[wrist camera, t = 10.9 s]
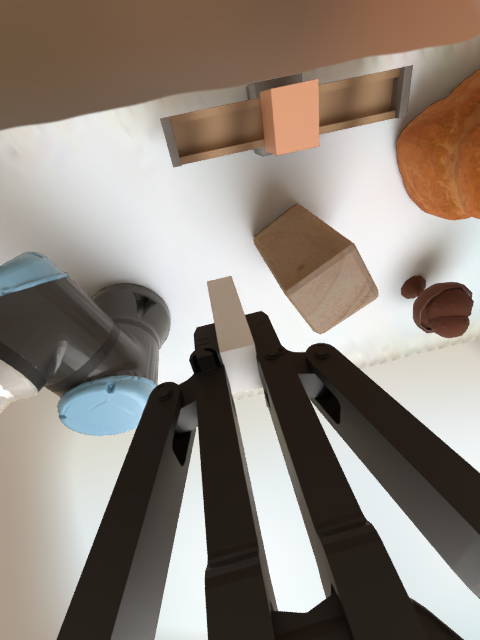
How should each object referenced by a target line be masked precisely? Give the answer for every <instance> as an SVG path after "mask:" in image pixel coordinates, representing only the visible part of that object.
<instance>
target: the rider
mask: <svg viewBox="0 0 480 640" xmlns="http://www.w3.org/2000/svg"><path fill="white" fill-rule="evenodd" d="M260 101H261V111H262V120H263V130H264V139H265V149H266V152H269V153H271V154H274V155H276V156H277V155H281V154H286V153H290V152H295V151H300V150H304V149H309V148H313V147H318V146H319V80H318V79H316V80H311V81H306V82H302V83H297V84H292V85H287V86H283V87H278V88H273V89H269V90H265V91H262V92H260Z"/></svg>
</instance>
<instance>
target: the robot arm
mask: <svg viewBox="0 0 480 640" xmlns="http://www.w3.org/2000/svg"><path fill="white" fill-rule="evenodd" d="M207 285H208V291H209V296H210V302H211V307H212V312H213V318H214V323H213V324H209V325H205V326H201V327H197V329H196V331H195V333H194V344H195V351H194V352H193V353H192V354H191V356H190V359H189V361H190V364H191V366H192V369H193V372H194V374H193V376H192V377H191V378H189V379H188V380H187V381H185V382H183V383H181V384H179V385H178V384H176V383H174V382H165V383H162V384H160V385H158V386H157V380H158V361H159V349H160V348H161V346H162V344H163V343H164V342H165V340H166V339H167V337H168V334H169V331H170V321H171V319H170V312H169V309H168V307H167V305H166V304H165V302H164V301H163V300H162V298H161V297H159V296H158V295H157V294H156V293H154V292H153V291H151V290H149V289H147V288H145V287H142V286H139V285H134V284H116V285H112V286H109V287H106V288H104V289H102V290H100V291H99V292H98V293H96V294H95V295H94V296H93V298H92V299H91V298H90V297H89V296H88V295H87V294H86V293H85V292H84V291H83V290H82V289H81V288H80V287H79V286H78V285H77V284H76V283H75V282H74V281H73V280H72V279H71V278H70V277H69V275H68V274H67V273H64V272H63V271H62V270H60V269H59V268H58V267H57V266H56V265H55V264H54V263H52V262H51V261H50V260H49V259H48V258H47V257H46V256H44V255H42V254H40V253H37V252H26V253H23V254H21V255H19V256H17V257H15V258H14V259H12V260H10V261H8V262H6V263H4V264H3V265H1V266H0V413H1V412H2V411H3V410H4V409H5V408H6V407H7V406H8V404H9V403H11V402H14V401H17V400H22V399H26V398H31V397H34V396H35V395H36V394H37V393H38V392H39V391H40V390H41V389H42V387H43V386H45V387H46V388H48V389H49V390H51V391H52V392H54V393H55V394H57V395H58V396H59V397H60V398H61V399H60V400H59V402H58V406H57V407H58V413H59V418H60V420H61V422H62V423H63V424H64V425H65V426H67V427H68V428H69V429H71V430H73V431H76V432H78V433H82V434H86V435H93V436H103V435H115V434H120V433H124V432H127V431H130V430H132V429H134V428H136V427H137V429H136V432H135V434H134V437H133V440H132V442H131V445H130V447H129V450H128V453H127V455H126V458H125V461H124V463H123V466H122V468H121V471H120V474H119V476H118V479H117V482H116V484H115V487H114V490H113V492H112V495H111V497H110V500H109V503H108V505H107V508H106V511H105V513H104V516H103V519H102V521H101V524H100V527H99V529H98V532H97V534H96V537H95V540H94V542H93V546H92V548H91V550H90V553H89V555H88V558H87V561H86V564H85V566H84V569H83V571H82V574H81V577H80V579H79V582H78V585H77V587H76V590H75V592H74V595H73V598H72V600H71V603H70V606H69V608H68V611H67V613H66V616H65V619H64V621H63V624H62V627H61V629H60V632H59V634H58V638H57V640H154V638H155V633H156V628H157V623H158V618H159V613H160V608H161V603H162V598H163V593H164V588H165V583H166V578H167V573H168V567H169V563H170V558H171V553H172V548H173V543H174V537H175V532H176V528H177V522H178V518H179V513H180V507H181V503H182V498H183V492H184V488H185V483H186V478H187V472H188V467H189V462H190V457H191V452H192V446H193V442H194V437H195V432H196V427H198V430H199V445H200V459H201V472H202V485H203V497H204V498H203V499H204V513H205V527H206V540H207V554H208V564H207V568H206V571H205V596H206V612H207V628H208V640H464V639H462V638H461V637H460V636H459V635H458V634H456V633H455V632H454V631H453V630H451V629H450V628H449V627H448V626H447V625H446V624H444V623H443V622H442V621H441V620H440V619H438V618H437V617H436V616H435V615H434V614H433V613H431V612H430V611H429V610H427V609H426V608H425V607H424V606H422V605H421V604H419V603H418V602H416V601H415V600H413V599H411V598H409V596H408V594H407V592H406V590H405V588H404V586H403V584H402V582H401V580H400V578H399V576H398V574H397V571H396V569H395V567H394V565H393V563H392V561H391V559H390V557H389V555H388V553H387V551H386V548H385V546H384V544H383V542H382V540H381V538H380V536H379V535H378V533H377V531H376V529H375V528H374V526H373V525H372V524H371V523H370V522H369V521H367V520H366V518H365V517H364V515H363V513H362V511H361V509H360V507H359V505H358V502H357V500H356V498H355V496H354V494H353V492H352V489H351V487H350V485H349V483H348V481H347V479H346V477H345V475H344V472H343V470H342V468H341V466H340V464H339V462H338V460H337V457H336V455H335V453H334V451H333V449H332V447H331V444H330V442H329V440H328V438H327V436H326V434H325V432H324V429H323V427H322V425H321V423H320V421H319V419H318V416H317V415H316V412H315V410H314V408H313V406H312V404H311V401H312V403H313V404H314V405H315V406H316V407H317V408H318V410H319V411H320V412H321V413H322V414H323V416H324V417H325V418H326V419H327V420H328V422H329V423H330V424H331V425H332V426H333V428H334V429H335V430H336V431H337V432H338V434H339V435H340V436H341V437H342V438H343V440H344V441H345V442H346V443H347V444H348V446H349V447H350V448H351V449H352V450H353V452H354V453H355V454H356V455H357V456H358V458H359V459H360V460H361V461H362V462H363V463H364V465H365V466H366V467H367V468H368V469H369V471H370V472H371V473H372V474H373V475H374V477H375V478H376V479H377V480H378V481H379V483H380V484H381V485H382V486H383V487H384V489H385V490H386V491H387V492H388V493H389V495H390V496H391V497H392V498H393V499H394V501H395V502H396V503H397V504H398V505H399V507H400V508H401V509H402V510H403V511H404V513H405V514H406V515H407V516H408V517H409V519H410V520H411V521H412V522H413V523H414V525H415V526H416V527H417V528H418V529H419V531H420V532H421V533H422V534H423V535H424V537H425V538H426V539H427V540H428V541H429V542H430V544H431V545H432V546H433V547H434V548H435V550H436V551H437V552H438V553H439V554H440V555H441V557H442V558H443V559H444V560H445V562H446V563H447V564H448V565H449V566H450V568H451V569H452V570H453V571H454V572H455V573H456V574H457V575H458V577H459V578H460V579H461V580H462V581H463V582H464V583H465V584H466V586H467V587H468V588H469V589H470V590H471V591H472V592H473V593H474V594H475V595H476V596H477V597H478V598H479V599H480V473H479V472H478V471H477V470H475V469H474V468H473V467H472V466H471V465H470V464H469V463H468V462H466V461H465V460H464V459H463V458H462V457H461V456H459V455H458V454H457V453H456V452H455V451H454V450H452V449H451V448H450V447H449V446H448V445H447V444H445V443H444V442H443V441H442V440H441V439H440V438H439V437H437V436H436V435H435V434H434V433H433V432H432V431H431V430H429V429H428V428H427V427H426V426H425V425H424V424H422V423H421V422H420V421H419V420H418V419H417V418H415V417H414V416H413V415H412V414H411V413H410V412H409V411H407V410H406V409H405V408H404V407H403V406H402V405H400V404H399V403H398V402H397V401H396V400H395V399H393V398H392V397H391V396H390V395H389V394H388V393H387V392H385V391H384V390H383V389H382V388H381V387H380V386H378V385H377V384H376V383H375V382H374V381H373V380H372V379H370V378H369V377H368V376H367V375H366V374H364V373H363V372H362V371H361V370H360V369H359V368H358V367H357V366H355V365H354V364H353V363H352V362H351V361H350V360H348V359H347V358H346V357H345V356H344V355H343V354H341V353H340V352H339V351H338V350H337V349H336V348H335V347H333V346H331V345H329V344H325V343H317V344H314V345H311V346H310V347H308V349H307V350H306V352H291V351H288V350H286V349H285V348H284V347H283V346H282V345H281V344H280V341H279V339H278V337H277V335H276V333H275V330H274V328H273V326H272V324H271V322H270V319H269V317H268V315H266V314H265V313H264V312H262V311H259V312H255V313H251V314H247V315H245V314H244V312H243V309H242V306H241V303H240V300H239V297H238V294H237V291H236V288H235V285H234V282H233V279H232V277H231V276H229V277H224V278H220V279H216V280H212V281H208V282H207ZM259 388H263V389H264V394H265V399H266V404H267V407H268V408H269V411H270V414H271V417H272V421H273V424H274V427H275V430H276V434H277V437H278V440H279V443H280V446H281V450H282V452H283V456H284V459H285V462H286V465H287V469H288V472H289V475H290V478H291V482H292V485H293V488H294V491H295V494H296V498H297V501H298V504H299V507H300V511H301V513H302V517H303V520H304V523H305V527H306V530H307V533H308V536H309V539H310V542H311V546H312V549H313V552H314V555H315V559H316V562H317V566H318V569H319V573H320V578H321V581H322V585H323V589H324V592H325V595H326V599H325V600H324V601H322V602H321V603H320V604H318V605H317V606H316V607H314V608H313V609H312V610H310V611H309V612H307V613H295V612H294V613H293V612H283V611H282V612H281V611H278V609H277V605H276V600H275V596H274V592H273V587H272V584H271V579H270V574H269V570H268V565H267V560H266V555H265V550H264V545H263V540H262V536H261V531H260V526H259V521H258V516H257V511H256V506H255V501H254V497H253V493H252V487H251V482H250V477H249V473H248V467H247V463H246V458H245V453H244V448H243V443H242V439H241V434H240V429H239V424H238V419H237V414H236V409H235V404H234V401H233V397H232V395H235V394H239V393H243V392H247V391H251V390H255V389H259ZM309 398H310V399H309ZM310 400H311V401H310Z"/></svg>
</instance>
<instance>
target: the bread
mask: <svg viewBox="0 0 480 640" xmlns="http://www.w3.org/2000/svg"><path fill="white" fill-rule="evenodd" d="M396 149H397V156H398V166H399V170H400V173H401V176H402V178H403V182H404V186H405V189H406V191H407V193H408V195H409V197H410V198H411V199H412V201H413V202H414V203H415V204H416V205H417V206H418V207H419V208H420V209H421V210H422V211H424V212H426V213H429V214H432V215H435V216H438V217H441V218H444V219H448V220H460V219H467V218H469V217H475V218H478V219H480V69H479V70H478V71H476V72H475V73H474V74H472V75H471V76H470V77H468V78H467V79H465V80H464V81H463V82H462V83H461V84H460V85H459V86H458V87H456V88H455V89H454V90H453V91H452V93H451V94H450V95H449V96H448V97H447V98H444V99H442V100H439V101H437V102H435V103H433V104H432V105H430V106H429V107H428V108H426V109H425V110H424V111H423V112H422V113H421V114H420V115H419V116H417V117H416V118H415V119H414V120H413V121H412V122H410V123H409V124H408V126H407V127H406V128H405V129H404V130H403V131H402V133H401V135H400V137H399V139H398V141H397V146H396Z"/></svg>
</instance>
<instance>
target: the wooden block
mask: <svg viewBox="0 0 480 640" xmlns="http://www.w3.org/2000/svg"><path fill="white" fill-rule="evenodd" d="M254 244H255V246H256V248H257V249H258V251H259V252H260V254H261V256H262V257H263V259H264V261H265V262H266V264H267V266H268V267H269V269H270V271H271V272H272V274H273V275H274V277H275V279H276V280H277V282H278V284H279V285H280V287H281V289H282V290H283V292H284V293H285V295H286V296H287V297H288V299H289V300H290V301H291V303H292V304H293V305H294V306H295V308H296V309H297V310H298V312H299V313H300V314H301V315H302V317H303V318H304V319H305V321H306V322H307V323H308V325H309V326H310V327H311V328H312V330H313V331H314V332H316V333H318V334H322V333H325V332H326V331H328V330H329V329H331V328H332V327H334V326H335V325H337V324H339V323H340V322H342V321H343V320H345V319H346V318H348V317H349V316H351V315H352V314H354V313H355V312H357V311H358V310H360V309H361V308H363V307H364V306H366V305H367V304H369V303H370V302H372V301H374V300H375V299H376V298H377V297H378V289H377V287H376V285H375V283H374V281H373V279H372V277H371V275H370V273H369V271H368V270H367V268H366V266H365V264H364V262H363V260H362V258H361V256H360V254H359V252H358V250H357V248H356V246H355V244H354V243H352V242H351V241H350V240H348V239H347V238H345V237H344V236H343V235H341V234H340V233H338V232H337V231H336V230H334V229H333V228H331V227H330V226H329V225H327V224H326V223H324V222H323V221H322V220H320V219H319V218H318V217H316V216H315V215H313V214H312V213H311V212H309V211H308V210H306V209H305V208H304V207H302V206H301V205H299V204H297V205H295V206H293V207H292V208H291V209H289V210H288V211H287V212H286V213H284V214H283V215H282V216H280V217H279V218H278V219H277V220H275V221H274V222H273V223H272V224H270V225H269V226H268V227H267V228H265V229H264V230H263V231H261V232H260V233H259V234H258V235H256V236H255V238H254Z"/></svg>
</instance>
